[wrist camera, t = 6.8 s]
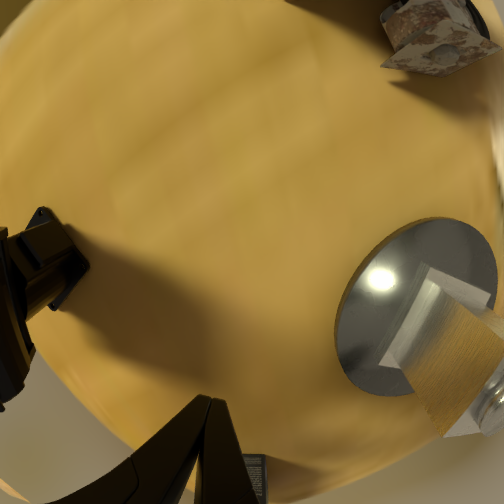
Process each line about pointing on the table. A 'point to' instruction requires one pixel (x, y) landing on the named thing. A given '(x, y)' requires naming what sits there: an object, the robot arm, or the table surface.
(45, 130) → the table surface
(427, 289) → the cover
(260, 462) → the small box
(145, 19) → the table surface
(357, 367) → the turntable
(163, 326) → the table surface
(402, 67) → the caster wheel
